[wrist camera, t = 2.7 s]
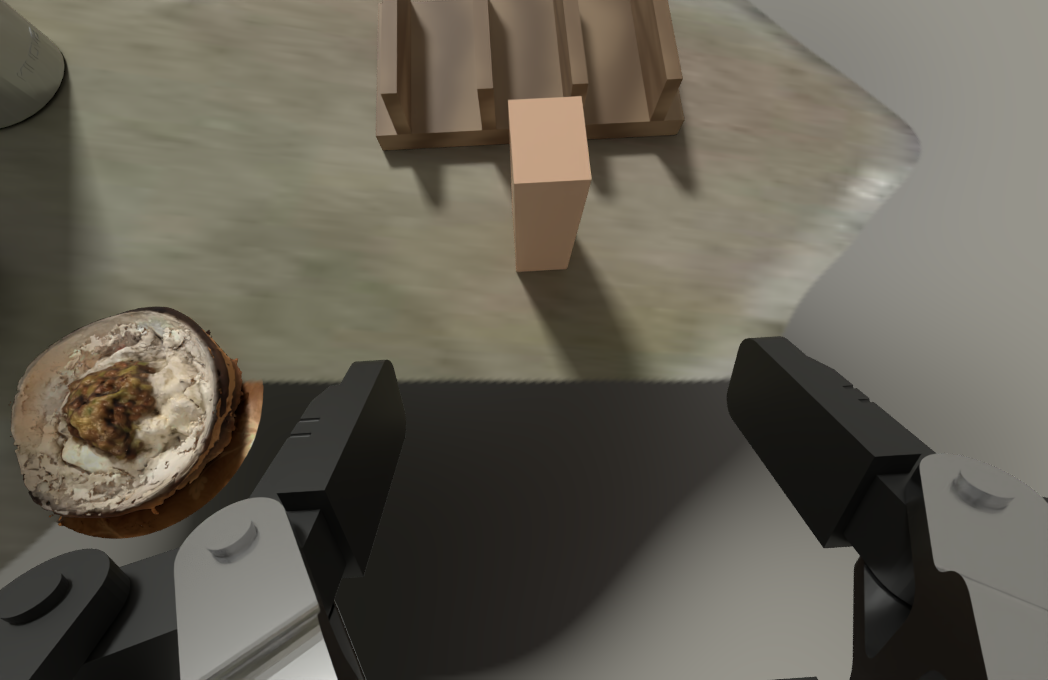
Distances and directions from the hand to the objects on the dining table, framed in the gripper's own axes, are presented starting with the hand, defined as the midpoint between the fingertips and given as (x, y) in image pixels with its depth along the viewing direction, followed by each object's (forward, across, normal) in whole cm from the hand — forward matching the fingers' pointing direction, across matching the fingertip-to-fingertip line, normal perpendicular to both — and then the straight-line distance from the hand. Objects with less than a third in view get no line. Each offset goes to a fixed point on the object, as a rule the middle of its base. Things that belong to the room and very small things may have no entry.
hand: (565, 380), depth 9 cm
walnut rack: (+30, -1, -7) cm, 31 cm away
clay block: (+20, -1, +3) cm, 21 cm away
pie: (+13, +25, +10) cm, 30 cm away
